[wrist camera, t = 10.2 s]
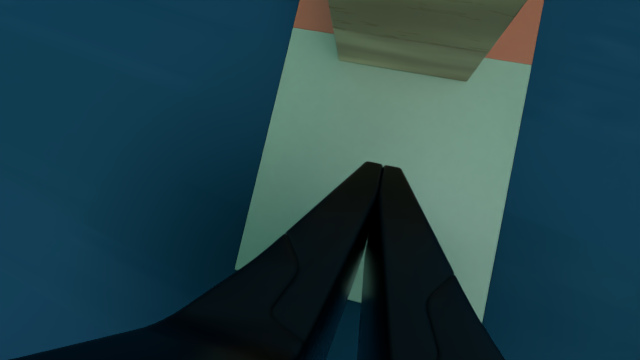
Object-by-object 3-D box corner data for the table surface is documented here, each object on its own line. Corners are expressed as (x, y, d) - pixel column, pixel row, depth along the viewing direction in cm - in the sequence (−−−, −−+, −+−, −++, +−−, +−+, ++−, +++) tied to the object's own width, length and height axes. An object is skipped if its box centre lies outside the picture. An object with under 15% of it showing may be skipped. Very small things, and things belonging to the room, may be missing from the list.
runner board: (477, 332, 18) (480, 334, 18) (236, 268, 20) (234, 269, 20) (528, 67, 19) (532, 64, 19) (294, 30, 21) (292, 27, 21)
